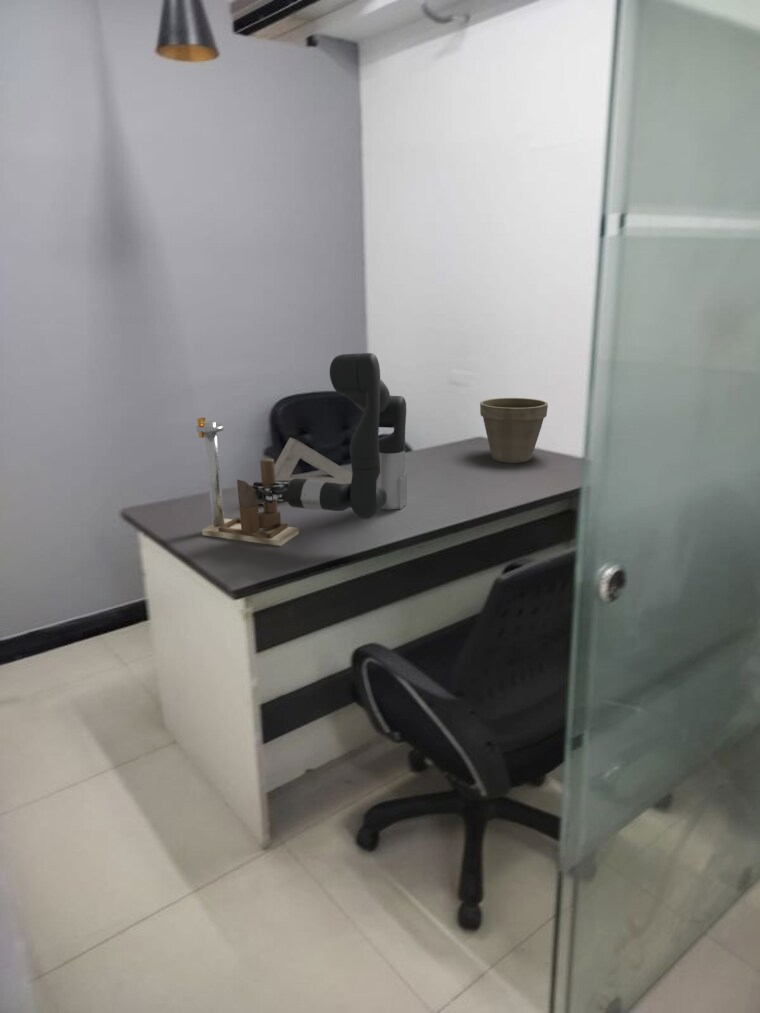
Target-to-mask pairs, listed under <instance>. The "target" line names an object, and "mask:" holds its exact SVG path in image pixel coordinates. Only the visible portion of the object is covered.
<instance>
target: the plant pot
mask: <svg viewBox="0 0 760 1013" xmlns="http://www.w3.org/2000/svg"><path fill="white" fill-rule="evenodd" d="M479 405H480V410H479V411H480V416H481V417H482V418H483V424H484V427H485V434H486V436H487V442H488V445H489V451H490V455H491V458H492V459H493V460H494V461H496V462H500V463H508V464H518V463H525V462H529V461H530V460H531V459H532V457H533V454H534V451H535V448H536V445H537V442H538V439H539V436H540V432H541V429H542V426H543V423H544V419H545V418H546V417H547V414H548V408H549V407H548V405H549V404H548V402H547V401H544V400H541V399H536V398H527V397H526V398H525V397H500V398H499V397H498V398H489V399H485V400H482V401H480V402H479Z"/></svg>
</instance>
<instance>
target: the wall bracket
mask: <svg viewBox="0 0 760 1013" xmlns="http://www.w3.org/2000/svg"><path fill="white" fill-rule="evenodd" d="M300 459H301V460H302V461H304V462H305V463H307V464H309V465H311V466H313V467H314V468H315V469H317V470H320V471H321V472H322V473H323V474H293V472H294V470H295V468H296V466H297V465H298V463H299V461H300ZM274 468H275V481H279V480H292V479H294V478H299V479H309V480H319V481H323V482H329V483H338V484H349V483H351V480H352V472H351V471H348V470H347V469H346V468H343V467H342V466H341V465H338V464H337V463H336V462H334V461H332V460H331V459H329V458H327V457H326V456H324V455H323V454H320V453H319V452H317V451H316V450H314V449H313V448H311V447H309V446H307V445H306V444H304V443H303V442H301V441H299V440H298V439H296V438H293V437H291V436H290V437H289V438H288V440H287V441H286V444H285V446H284V448H283V449H282V451H281V452H280V454H279V456H278V458H277V460H276V462H274ZM324 473H325V474H324ZM261 504H262V505H263V503H261ZM261 504H260V505H261Z"/></svg>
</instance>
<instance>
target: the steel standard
mask: <svg viewBox="0 0 760 1013" xmlns="http://www.w3.org/2000/svg"><path fill="white" fill-rule="evenodd" d="M224 430H225V426H224V424H222V423H217V421H213V420H211V421H209V420H208V421H206V417H198V418H197V426H196V432H197V433H198V437H199V438H204V445H205V455H206V466H207V475H208V476H207V477H208V478H207V480H208V488H209V489H208V490H209V499H210V509H211V510H210V511H211V518H212V519H211V520H212V523H211V524H213V526H215V527H220V526H223V525H224V524H225V523H224V519H225V514H224V502H223V501H224V500H223V492H222V488H223V487H222V480H221V479H222V478H221V466H220V456H219V455H220V454H219V453H220V452H219V444H218V443H219V442H218V433H219V432H222V431H224Z"/></svg>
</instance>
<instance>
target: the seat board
mask: <svg viewBox="0 0 760 1013" xmlns="http://www.w3.org/2000/svg"><path fill="white" fill-rule="evenodd" d="M224 523H225V524H224V525H223V526H220V527H215V526H213V523H211V524H210V525H208V526H206V527H204V528H202V530H201V533H202V536H207V537H212V538H213V537H215V538H222V539H228V540H235V541H243V542H249V543H256V544H257V543H258V544H262V545H263V544H264V545H270V546H278V547H281V546H283V545H285V544H286V543H287V542H289V541H290V540H291V539H293V538H294V537H296V536H297V535H298V534H300V532H299V531H300V530H299V527H294V526H293V527H292V526H288V525H289V524H288V523H285V522H284V523H283V522H281V523H279V524H276V525H273V526H270V527H267V528H260V530H259V531H256V532H253V533H247V532H244V531H242V530H241V518H240V517H235V518H233V519H231V518H224Z"/></svg>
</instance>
